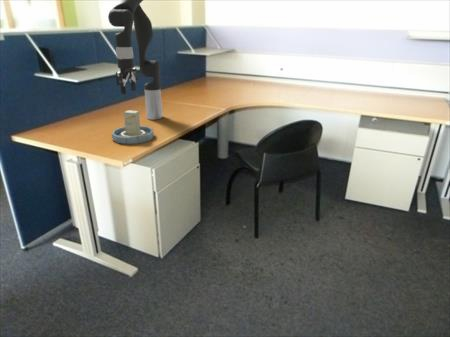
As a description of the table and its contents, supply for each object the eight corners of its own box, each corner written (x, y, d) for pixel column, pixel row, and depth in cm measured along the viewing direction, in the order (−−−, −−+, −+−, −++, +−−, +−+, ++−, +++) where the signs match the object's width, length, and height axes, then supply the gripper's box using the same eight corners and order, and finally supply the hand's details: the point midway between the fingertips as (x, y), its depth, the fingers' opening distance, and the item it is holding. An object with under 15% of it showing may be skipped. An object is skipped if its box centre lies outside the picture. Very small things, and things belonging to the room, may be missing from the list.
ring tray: (127, 129, 186) (126, 123, 184) (160, 133, 180) (160, 127, 179) (104, 141, 168) (103, 135, 167) (140, 146, 163) (139, 139, 161)
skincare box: (125, 135, 172) (123, 112, 168) (129, 133, 176) (127, 109, 171) (137, 136, 171) (135, 113, 166) (141, 134, 175) (139, 110, 170)
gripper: (126, 55, 166) (130, 88, 173) (108, 58, 154) (113, 94, 161) (140, 55, 164) (143, 89, 171) (123, 59, 152) (127, 96, 159)
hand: (128, 92), depth 166 cm, fingers open, 8 cm apart
